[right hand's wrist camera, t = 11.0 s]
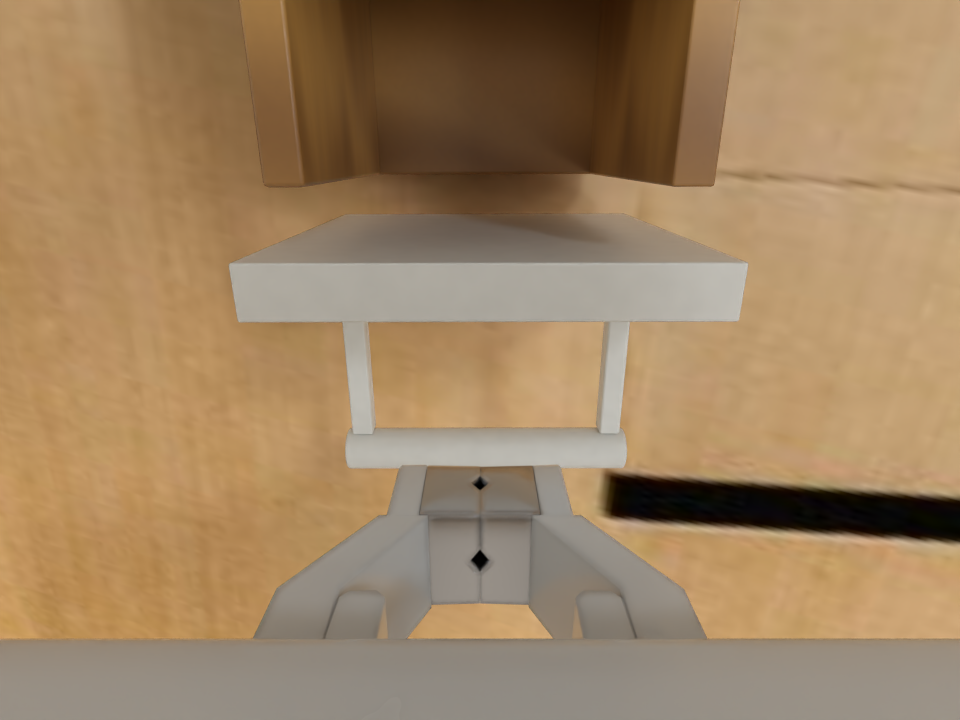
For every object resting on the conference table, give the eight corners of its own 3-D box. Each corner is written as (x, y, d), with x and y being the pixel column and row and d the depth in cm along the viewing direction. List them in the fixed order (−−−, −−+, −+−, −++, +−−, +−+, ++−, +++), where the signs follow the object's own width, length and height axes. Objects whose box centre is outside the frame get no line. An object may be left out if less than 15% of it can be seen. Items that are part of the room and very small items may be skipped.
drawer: (609, 392, 22) (699, 557, 13) (360, 392, 22) (275, 558, 13) (663, -225, 15) (928, -776, 6) (307, -224, 15) (58, -770, 6)
